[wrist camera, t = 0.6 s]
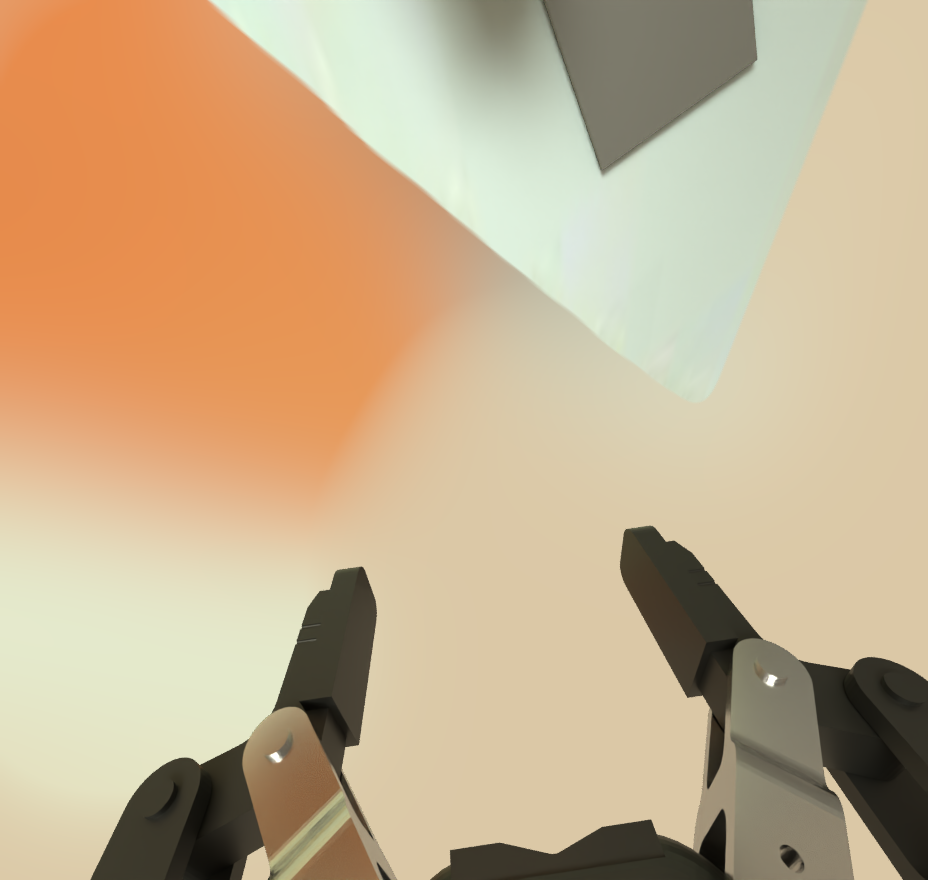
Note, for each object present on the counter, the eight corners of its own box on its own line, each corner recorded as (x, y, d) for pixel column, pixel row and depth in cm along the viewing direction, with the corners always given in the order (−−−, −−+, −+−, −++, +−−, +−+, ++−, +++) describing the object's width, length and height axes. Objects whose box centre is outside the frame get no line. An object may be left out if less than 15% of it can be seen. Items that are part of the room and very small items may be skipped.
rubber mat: (524, -56, 20) (525, -59, 20) (724, -261, 17) (729, -268, 16) (600, 169, 27) (602, 170, 27) (753, 60, 24) (757, 59, 23)
